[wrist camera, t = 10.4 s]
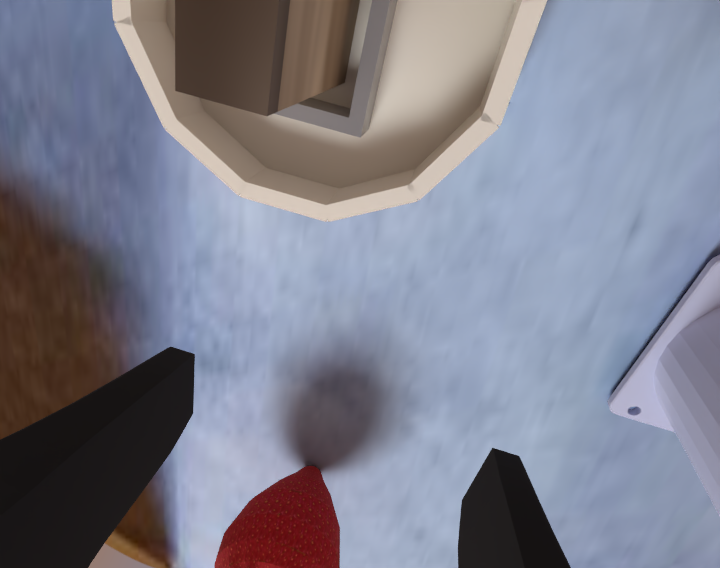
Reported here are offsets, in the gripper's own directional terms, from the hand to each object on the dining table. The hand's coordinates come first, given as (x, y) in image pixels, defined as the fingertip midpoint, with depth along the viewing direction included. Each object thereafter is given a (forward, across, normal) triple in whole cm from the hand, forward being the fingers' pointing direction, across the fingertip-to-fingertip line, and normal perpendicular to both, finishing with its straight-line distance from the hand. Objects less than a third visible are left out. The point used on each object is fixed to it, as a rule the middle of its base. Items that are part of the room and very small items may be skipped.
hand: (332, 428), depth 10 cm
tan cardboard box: (+9, +4, -8) cm, 13 cm away
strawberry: (+10, +1, +15) cm, 18 cm away
